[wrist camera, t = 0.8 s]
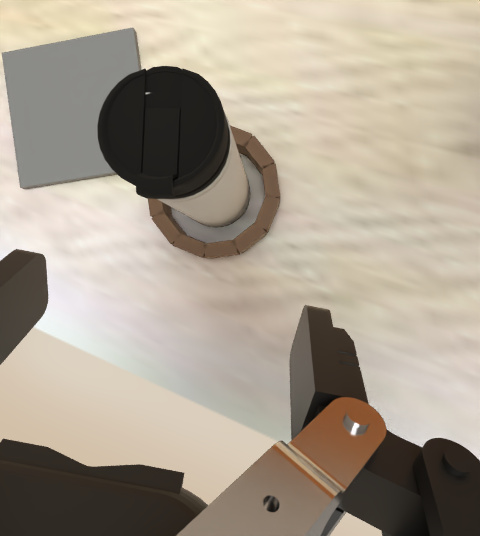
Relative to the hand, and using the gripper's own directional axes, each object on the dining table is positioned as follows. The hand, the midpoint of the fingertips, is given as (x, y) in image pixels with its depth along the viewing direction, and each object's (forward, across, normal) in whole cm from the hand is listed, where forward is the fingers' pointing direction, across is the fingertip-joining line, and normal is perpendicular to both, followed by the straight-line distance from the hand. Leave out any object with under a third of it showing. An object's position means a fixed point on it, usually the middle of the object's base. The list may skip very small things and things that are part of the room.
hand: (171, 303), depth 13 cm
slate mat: (+30, +16, +2) cm, 34 cm away
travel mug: (+27, +1, +6) cm, 28 cm away
